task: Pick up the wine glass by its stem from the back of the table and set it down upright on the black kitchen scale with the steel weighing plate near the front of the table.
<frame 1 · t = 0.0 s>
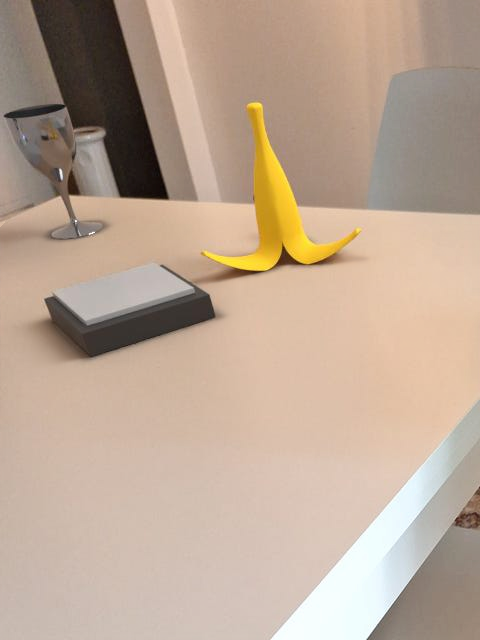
wine glass: (77, 231, 130), on the table
banana peel: (303, 258, 113), on the table
scale: (132, 318, 102), on the table
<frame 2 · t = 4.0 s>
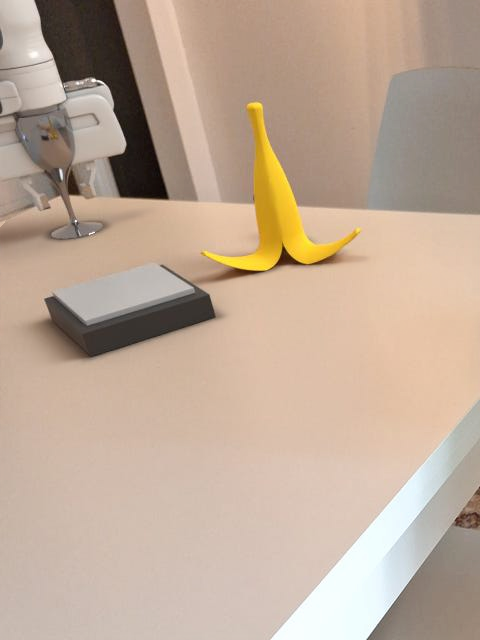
hand: (67, 203, 128), 4 cm above the table, tool pointing down, fingers closed on wine glass, 5 cm apart
wine glass: (77, 232, 130), on the table, touching gripper
everything else where it was.
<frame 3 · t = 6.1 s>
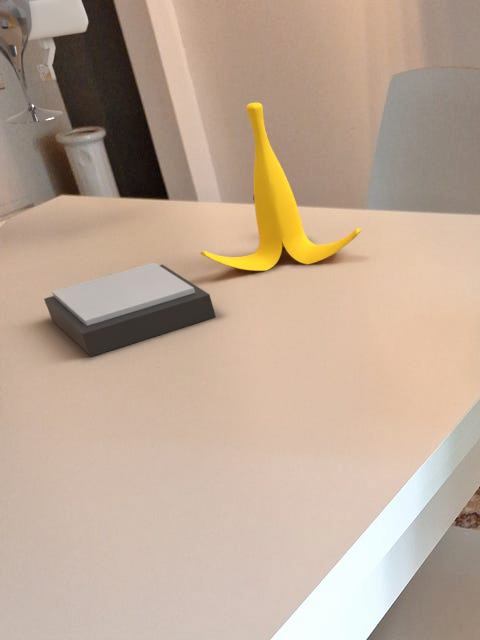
hand: (23, 85, 118), 18 cm above the table, tool pointing down, fingers closed on wine glass, 5 cm apart
wine glass: (35, 118, 120), point 14 cm above the table, touching gripper
everything else where it was.
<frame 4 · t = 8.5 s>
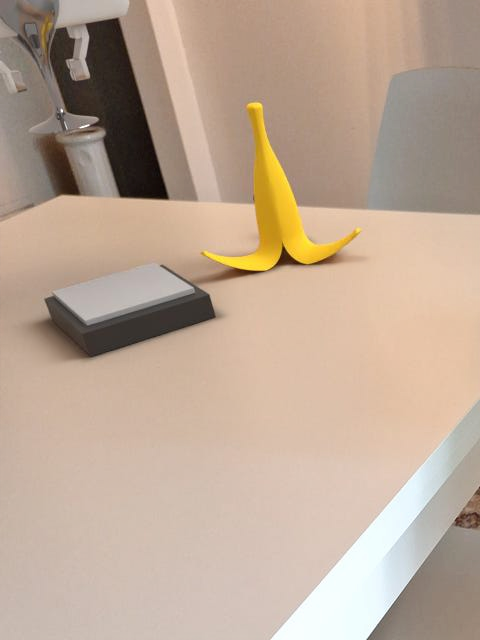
hand: (50, 85, 94), 22 cm above the table, tool pointing down, fingers closed on wine glass, 5 cm apart
wine glass: (64, 127, 96), point 18 cm above the table, touching gripper
everything else where it was.
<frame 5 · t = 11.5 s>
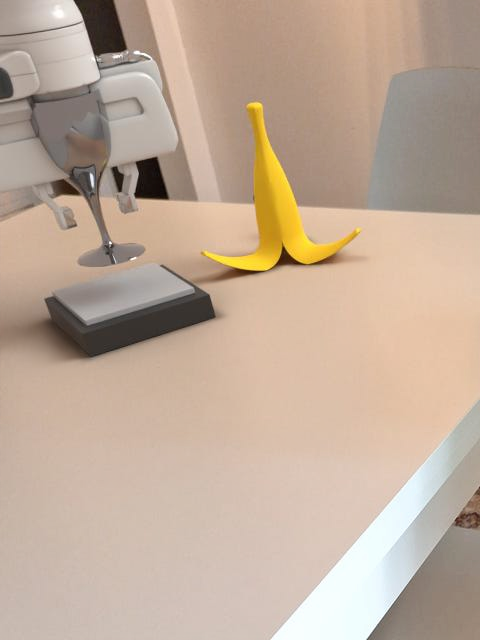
hand: (99, 219, 95), 10 cm above the table, tool pointing down, fingers closed on wine glass, 5 cm apart
wine glass: (112, 257, 98), point 7 cm above the table, touching gripper
everything else where it was.
when the fingers open (7 cm above the table, at t = 13.0 s): wine glass stays where it is, resting on scale.
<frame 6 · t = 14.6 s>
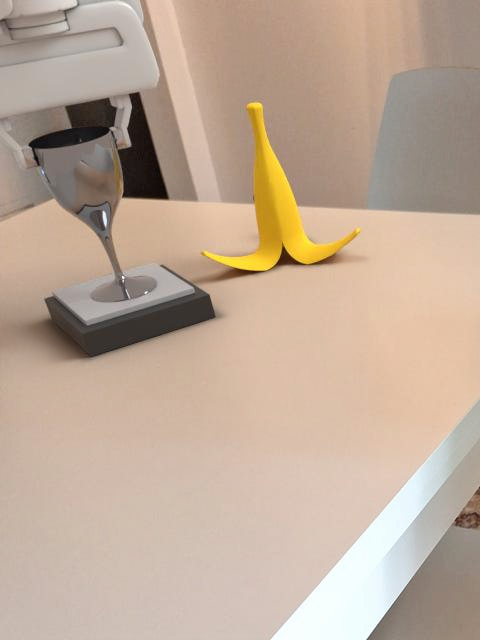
hand: (76, 157, 91), 16 cm above the table, tool pointing down, fingers open, 8 cm apart
wine glass: (124, 290, 100), point 3 cm above the table, touching scale
everything else where it was.
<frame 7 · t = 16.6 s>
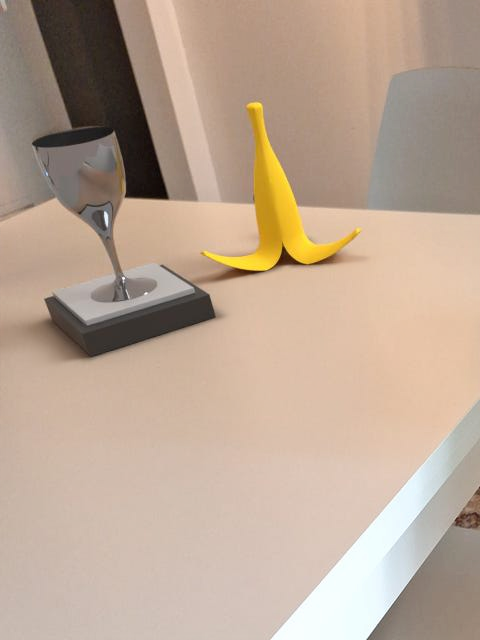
nothing on the table moved.
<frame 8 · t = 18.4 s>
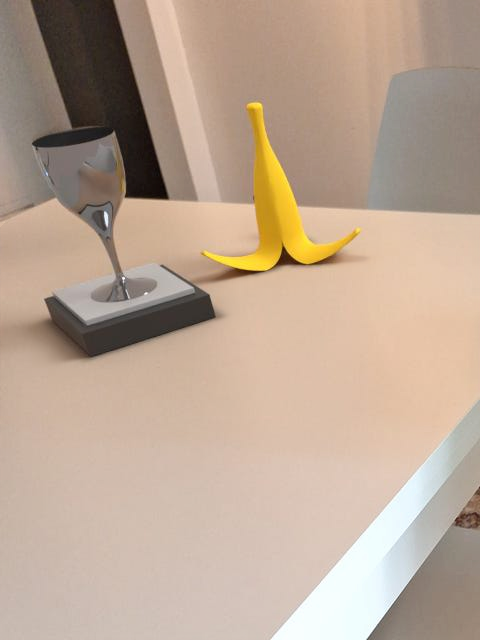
nothing on the table moved.
at the end: wine glass inside the target area on the scale (0.4 cm from its centre), point 2.9 cm above the scale's base; wine glass tilted 0°; the gripper is holding nothing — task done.
